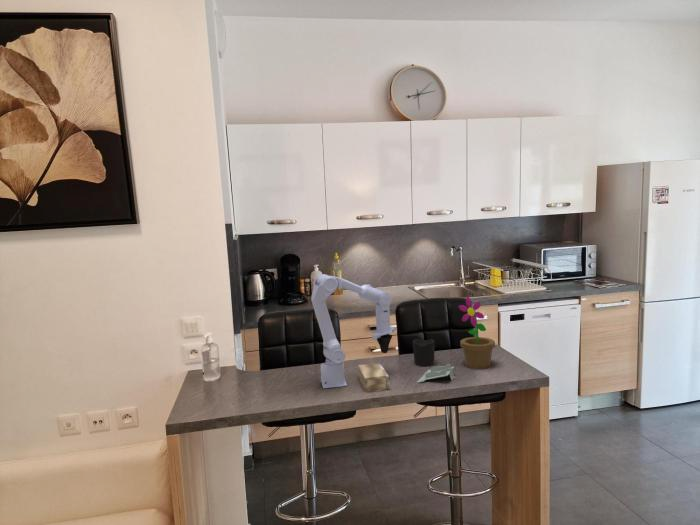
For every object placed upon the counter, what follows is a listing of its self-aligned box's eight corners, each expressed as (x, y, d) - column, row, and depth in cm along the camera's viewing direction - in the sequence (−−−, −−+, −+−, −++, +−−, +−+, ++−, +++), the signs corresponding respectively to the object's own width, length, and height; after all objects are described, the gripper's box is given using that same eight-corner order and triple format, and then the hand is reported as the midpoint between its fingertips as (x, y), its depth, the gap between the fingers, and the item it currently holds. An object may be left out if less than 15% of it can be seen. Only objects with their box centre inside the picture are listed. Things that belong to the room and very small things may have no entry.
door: (382, 381, 192) (382, 369, 191) (378, 375, 199) (377, 363, 199) (385, 381, 192) (384, 369, 191) (380, 375, 199) (380, 363, 199)
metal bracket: (456, 360, 197) (446, 372, 184) (460, 373, 197) (451, 386, 183) (423, 366, 203) (412, 378, 190) (428, 380, 203) (417, 392, 190)
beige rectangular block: (365, 392, 182) (365, 378, 182) (358, 378, 198) (358, 365, 198) (391, 389, 184) (390, 375, 183) (382, 375, 200) (381, 362, 199)
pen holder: (422, 368, 206) (421, 345, 205) (409, 362, 214) (408, 340, 213) (439, 363, 211) (438, 341, 209) (426, 358, 219) (425, 337, 218)
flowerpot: (454, 365, 207) (451, 296, 204) (473, 357, 217) (471, 291, 213) (483, 372, 196) (481, 300, 193) (502, 363, 206) (500, 294, 203)
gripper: (381, 325, 190) (383, 358, 192) (400, 317, 202) (401, 349, 203) (366, 323, 195) (368, 356, 196) (386, 316, 206) (387, 347, 207)
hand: (384, 352), depth 200 cm, fingers closed
